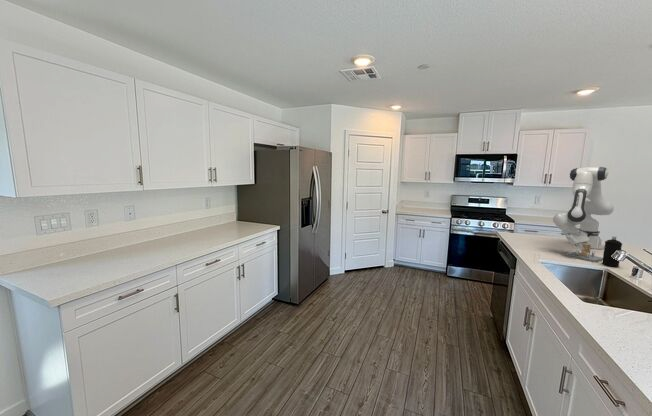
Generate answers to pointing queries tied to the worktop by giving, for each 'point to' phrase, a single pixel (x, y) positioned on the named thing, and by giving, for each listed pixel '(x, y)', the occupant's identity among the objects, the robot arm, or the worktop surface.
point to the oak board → (586, 250)
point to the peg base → (587, 258)
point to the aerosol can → (611, 252)
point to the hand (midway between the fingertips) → (586, 248)
